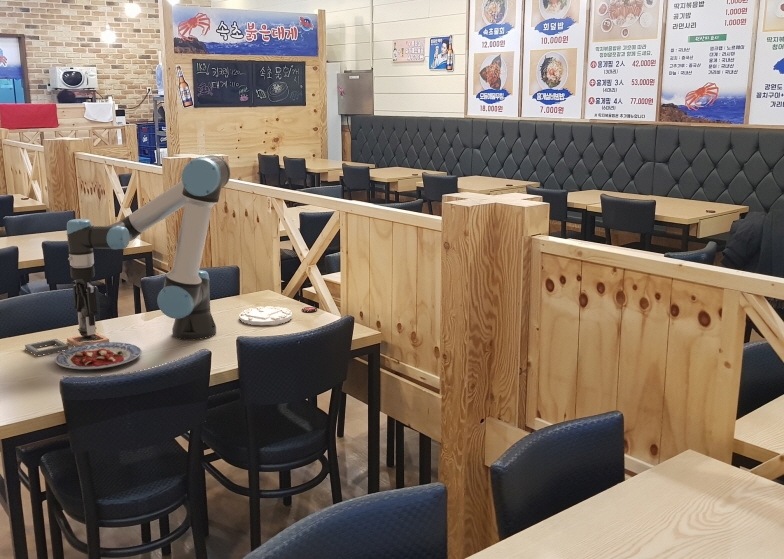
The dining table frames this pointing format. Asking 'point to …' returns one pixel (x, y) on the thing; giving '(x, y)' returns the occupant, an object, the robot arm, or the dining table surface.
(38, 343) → the socket
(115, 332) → the dining table surface
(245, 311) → the embossed medallion
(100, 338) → the socket
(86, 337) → the chess piece
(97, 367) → the ceramic plate
